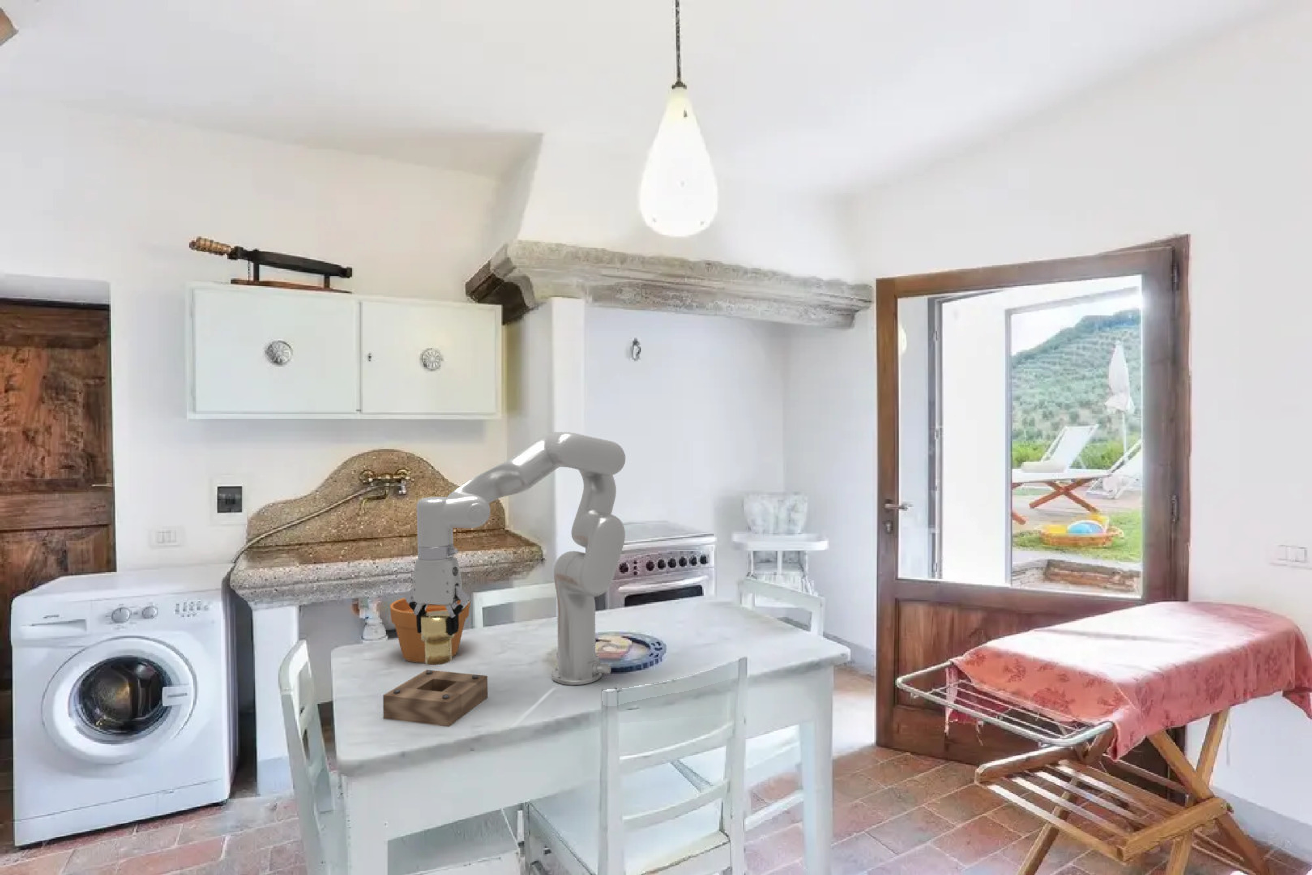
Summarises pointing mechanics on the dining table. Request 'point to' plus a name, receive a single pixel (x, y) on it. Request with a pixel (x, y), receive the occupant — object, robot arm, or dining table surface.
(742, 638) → the dining table surface
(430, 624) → the yellow translucent cylinder
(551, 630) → the dining table surface
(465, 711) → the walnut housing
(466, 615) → the flower pot
